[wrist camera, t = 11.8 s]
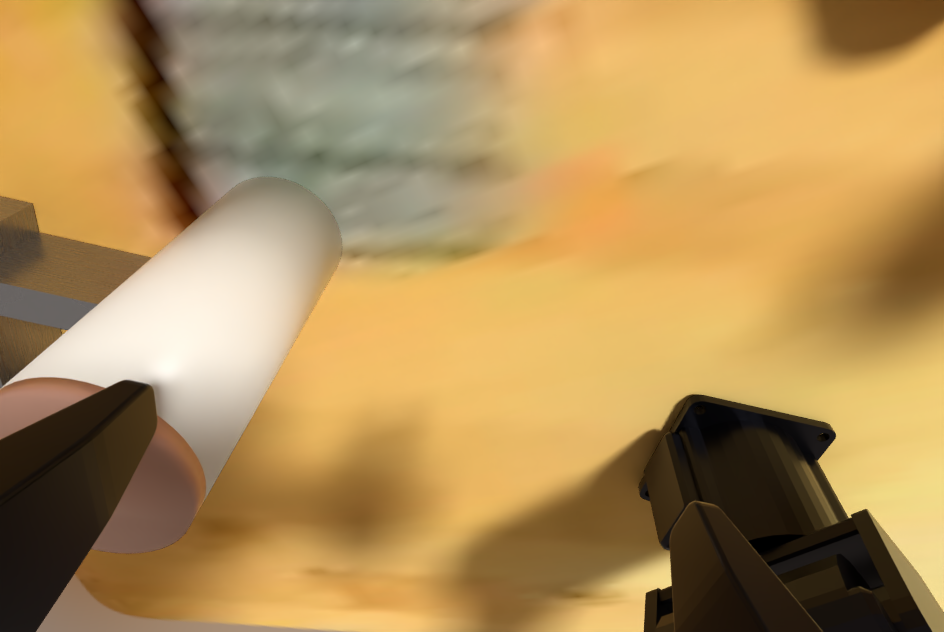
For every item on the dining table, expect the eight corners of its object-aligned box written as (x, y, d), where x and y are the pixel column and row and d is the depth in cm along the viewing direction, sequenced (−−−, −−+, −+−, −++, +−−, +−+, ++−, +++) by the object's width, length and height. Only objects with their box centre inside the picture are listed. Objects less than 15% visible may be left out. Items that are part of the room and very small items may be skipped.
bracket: (149, 230, 23) (86, 280, 19) (172, 442, 29) (127, 506, 26) (-8, 194, 22) (-99, 239, 19) (51, 417, 29) (-10, 478, 26)
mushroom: (362, 219, 22) (220, 464, 12) (315, 310, 24) (164, 578, 14) (239, 151, 21) (-33, 358, 11) (203, 254, 23) (-46, 500, 13)
